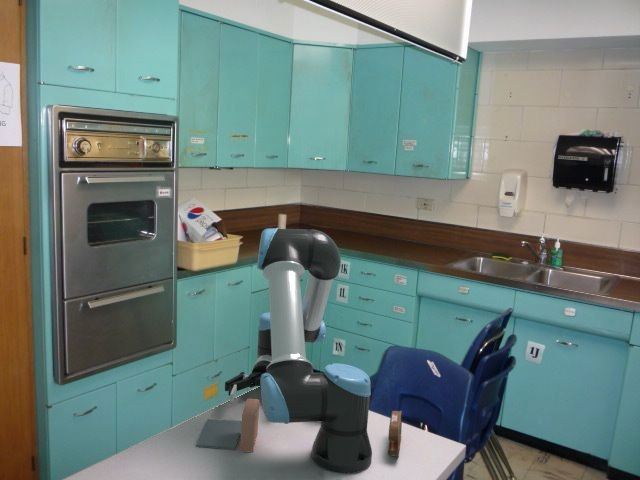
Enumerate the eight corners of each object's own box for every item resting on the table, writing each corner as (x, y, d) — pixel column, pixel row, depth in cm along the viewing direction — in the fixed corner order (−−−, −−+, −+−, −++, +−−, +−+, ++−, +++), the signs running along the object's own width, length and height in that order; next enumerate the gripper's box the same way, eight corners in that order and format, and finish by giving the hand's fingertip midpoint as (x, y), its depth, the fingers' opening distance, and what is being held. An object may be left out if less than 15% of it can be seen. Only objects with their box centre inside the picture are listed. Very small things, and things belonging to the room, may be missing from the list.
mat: (243, 423, 159) (243, 421, 159) (235, 449, 145) (235, 447, 145) (207, 420, 159) (207, 418, 159) (195, 446, 145) (195, 444, 145)
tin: (397, 463, 144) (400, 431, 142) (385, 461, 144) (388, 429, 143) (401, 434, 158) (404, 406, 157) (390, 432, 159) (392, 404, 158)
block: (257, 434, 153) (259, 399, 152) (252, 452, 144) (254, 415, 143) (245, 433, 153) (247, 398, 152) (240, 451, 144) (241, 414, 143)
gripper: (303, 385, 182) (299, 416, 161) (225, 379, 182) (210, 409, 161) (304, 362, 180) (300, 390, 159) (225, 357, 181) (211, 384, 160)
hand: (255, 400), depth 160 cm, fingers open, 13 cm apart
